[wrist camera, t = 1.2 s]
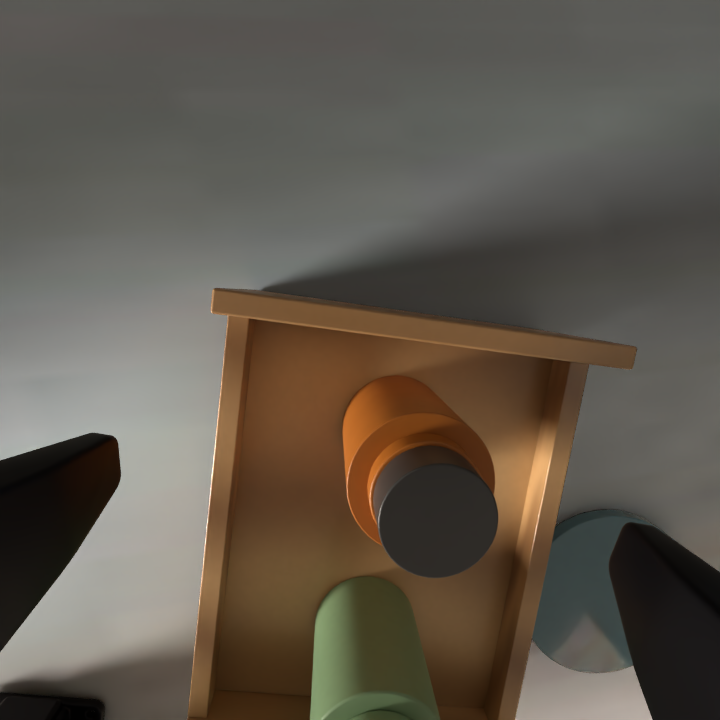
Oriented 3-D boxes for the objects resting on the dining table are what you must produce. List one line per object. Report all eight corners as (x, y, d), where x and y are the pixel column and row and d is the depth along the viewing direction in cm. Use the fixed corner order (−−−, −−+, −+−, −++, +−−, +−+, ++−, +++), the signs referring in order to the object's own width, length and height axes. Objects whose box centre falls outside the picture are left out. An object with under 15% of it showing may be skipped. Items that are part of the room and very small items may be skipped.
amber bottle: (437, 482, 20) (509, 612, 12) (335, 470, 20) (337, 596, 11) (454, 382, 19) (542, 446, 11) (349, 368, 19) (362, 425, 11)
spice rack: (474, 666, 25) (533, 821, 18) (214, 645, 24) (163, 801, 17) (539, 329, 23) (638, 347, 15) (253, 289, 22) (212, 287, 14)
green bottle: (405, 668, 21) (451, 903, 13) (309, 661, 21) (294, 897, 13) (420, 580, 20) (478, 767, 12) (321, 571, 20) (314, 757, 12)
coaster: (658, 668, 26) (668, 679, 25) (503, 655, 25) (509, 667, 24) (695, 518, 25) (707, 525, 24) (534, 500, 24) (541, 507, 23)
